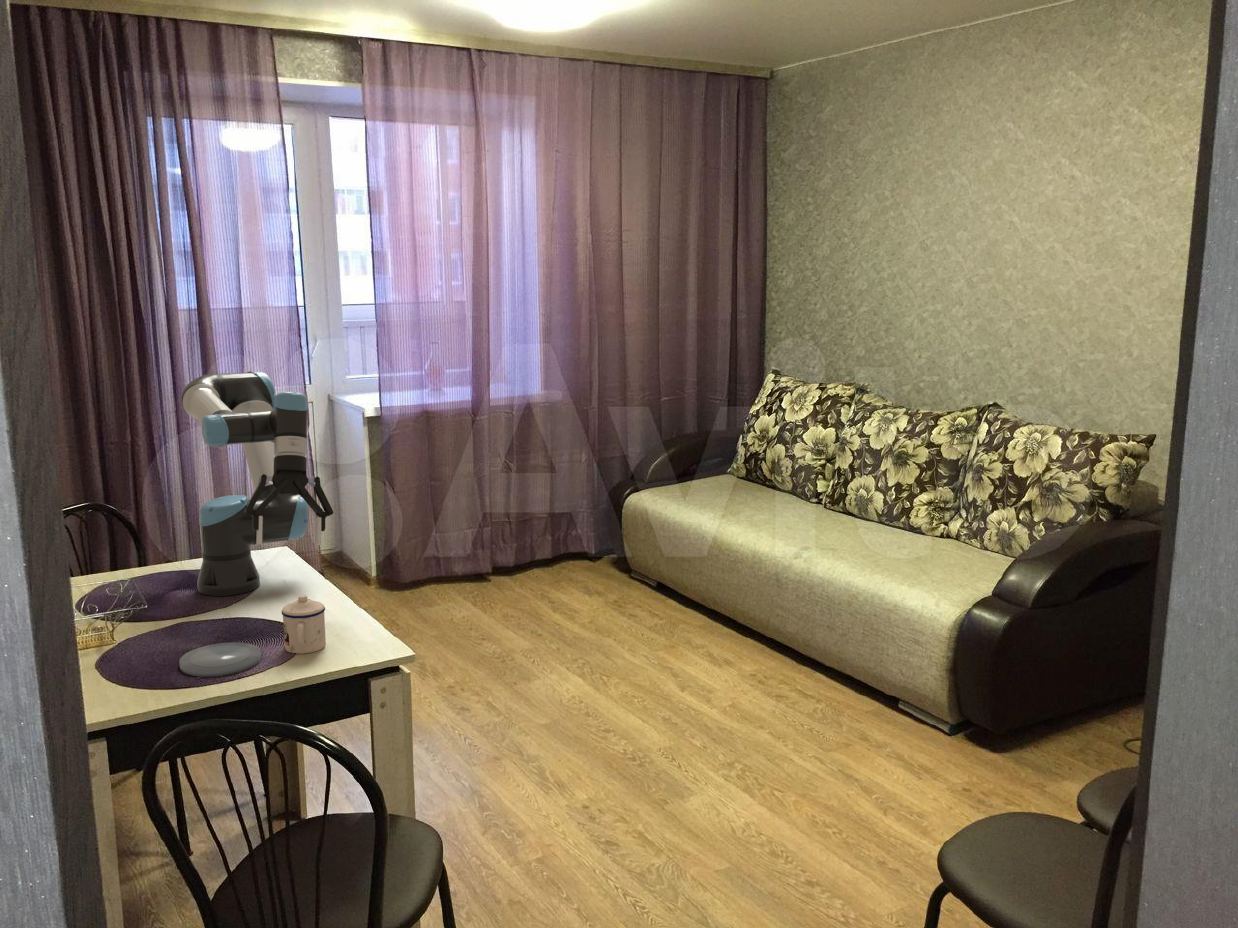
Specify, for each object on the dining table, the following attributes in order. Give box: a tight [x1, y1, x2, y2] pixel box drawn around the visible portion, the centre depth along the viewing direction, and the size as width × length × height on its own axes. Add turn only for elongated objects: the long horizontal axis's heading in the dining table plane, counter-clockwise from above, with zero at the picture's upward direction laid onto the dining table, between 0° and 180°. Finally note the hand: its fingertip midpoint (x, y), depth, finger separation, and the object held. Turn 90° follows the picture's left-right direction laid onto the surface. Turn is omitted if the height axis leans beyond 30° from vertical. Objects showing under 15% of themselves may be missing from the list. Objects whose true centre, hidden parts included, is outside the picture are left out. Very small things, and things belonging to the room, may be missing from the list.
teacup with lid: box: [280, 594, 327, 655], centre depth 222 cm, size 12×9×12 cm
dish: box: [178, 641, 262, 678], centre depth 216 cm, size 16×16×1 cm
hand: (289, 544), depth 243 cm, fingers open, 13 cm apart
